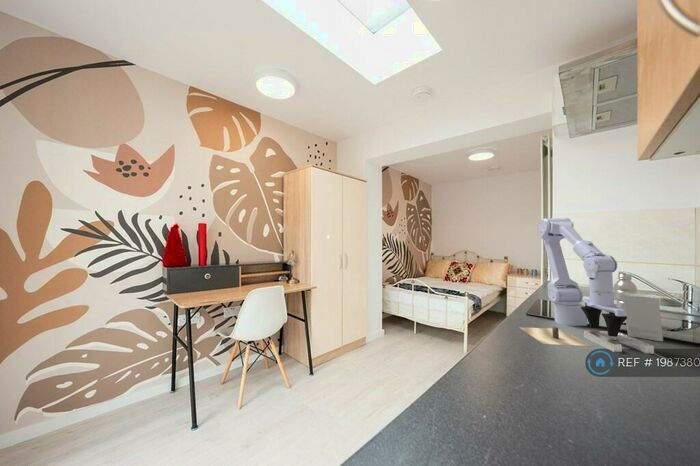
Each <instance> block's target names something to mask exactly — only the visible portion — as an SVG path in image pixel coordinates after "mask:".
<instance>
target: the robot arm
mask: <svg viewBox="0 0 700 466" xmlns="http://www.w3.org/2000/svg"><path fill="white" fill-rule="evenodd" d="M574 225H575V224H574V221H572V219H570V218H569V217H563V218H561V217H560V218H559V217H558V218H545V217H544V218H542V219H541V220H540V222H539V224H538V230H539V236H540V239H541V240H543V244H544V248H545V252H546V255H547V259H548V264H549V268H550V272H551V275H552V280H551V281H550V282H549V283H548V284H547V296H548V298H549V300H550V301H551V302H552V303H553V311H554V312H553V314H554V322H555V323H557V324H560V325H562V326H563V325H564V326H570V327H571V326H572V327H575V326H576V327H577V326H581V327H582V326H585V327H587V326H588V325H589V327H590V328H591V329H599V327H600V318H601V316H602V317H603V319H604V322H605V325H606V331H607V332H608V335H609V336H616V337H617V336H618V333H619V332H620V331H621V328H622V325H623V324H624V323H623V322H624V321H625V320H626V319H627V316H625V310H622V309H620V308H618V307H617V305H615V302H614V301H615V298H614V295H615V294H614V280H613V273H614V272H616V271H617V269H618V262H617V260H616V259H615V257H613V256H612V255H608V254H606V253H603V252H602V251H601V250H600V249H599V248H598V247H597V246H596V245H595V244H594V243H593V242H592V241H591V240H586V239H584V238H582V236H581V235H580V234H579V233H578V231H577V230H576V229H575V228H574ZM564 239H566V240H567V241H568V242H569V243H571V245H572V249H573V251H574V253H575V254H576V255H577V256H578V257H579V258H580V259H581V260H582V261H583V268H584V270H585V273H586V276H587V278H588V282H589V283H588V284H589V285H588V286H589V299H586V298H585V299H584V294H583V292H582V290H581V288H580V287H579V283H578V282H576V281H574V280H573V279H571V277H570V275H569V270H568V268H567V264H566V261H565V258H564V257H565V256H564V253H563V250H562V247H561V246H562V245H561V243H560V242H561V241H562V240H564ZM581 302H582V303H581ZM602 311H603V312H607V313H602Z"/></svg>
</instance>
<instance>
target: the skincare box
mask: <svg viewBox="0 0 700 466" xmlns="http://www.w3.org/2000/svg"><path fill="white" fill-rule="evenodd" d="M623 296H624V307H625V315H626V316H627V319H626V324H625V325H626V329H627V331H626V332H627V336H630V337H632V338H638V339H645V340H651V341H656V342H664V334H663V329H662V320H661V318H662V316H661V307H660V298H659V297H658V296H657V295H656V294H648V293H647V294H645V293H637V294H632V293H623Z"/></svg>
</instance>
